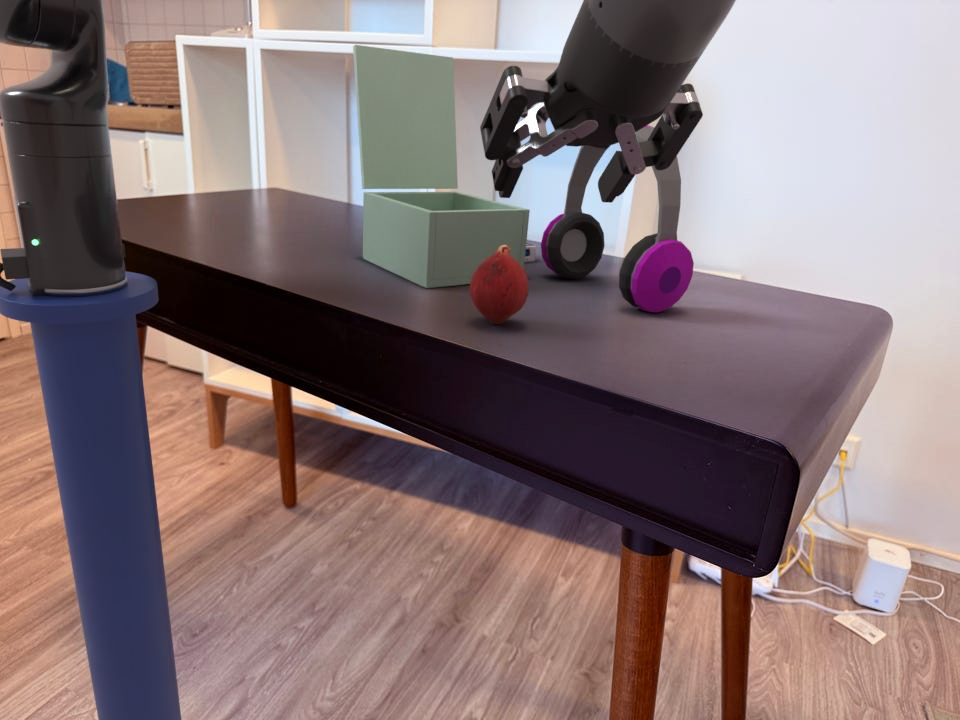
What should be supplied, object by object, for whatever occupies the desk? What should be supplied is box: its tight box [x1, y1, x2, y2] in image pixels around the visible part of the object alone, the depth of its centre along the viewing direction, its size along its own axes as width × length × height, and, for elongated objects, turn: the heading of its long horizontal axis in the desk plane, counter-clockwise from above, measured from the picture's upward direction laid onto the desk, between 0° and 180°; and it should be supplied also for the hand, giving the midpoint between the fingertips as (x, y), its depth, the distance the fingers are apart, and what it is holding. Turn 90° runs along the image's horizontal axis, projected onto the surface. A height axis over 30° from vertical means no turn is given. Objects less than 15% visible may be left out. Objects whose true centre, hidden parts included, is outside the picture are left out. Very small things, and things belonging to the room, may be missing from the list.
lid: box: [352, 44, 459, 190], centre depth 91 cm, size 18×15×4 cm
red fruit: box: [469, 245, 530, 325], centre depth 66 cm, size 6×6×8 cm
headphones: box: [540, 124, 695, 313], centre depth 79 cm, size 21×9×20 cm, turn 28°
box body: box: [362, 191, 531, 289], centre depth 87 cm, size 17×15×9 cm
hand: (554, 191), depth 52 cm, fingers open, 8 cm apart
